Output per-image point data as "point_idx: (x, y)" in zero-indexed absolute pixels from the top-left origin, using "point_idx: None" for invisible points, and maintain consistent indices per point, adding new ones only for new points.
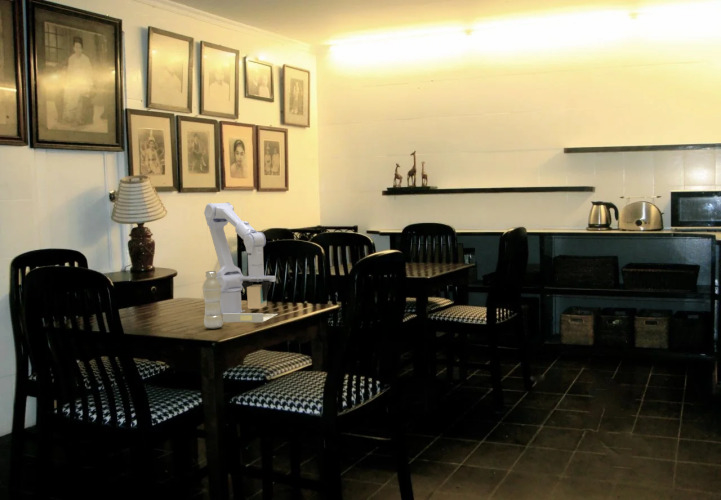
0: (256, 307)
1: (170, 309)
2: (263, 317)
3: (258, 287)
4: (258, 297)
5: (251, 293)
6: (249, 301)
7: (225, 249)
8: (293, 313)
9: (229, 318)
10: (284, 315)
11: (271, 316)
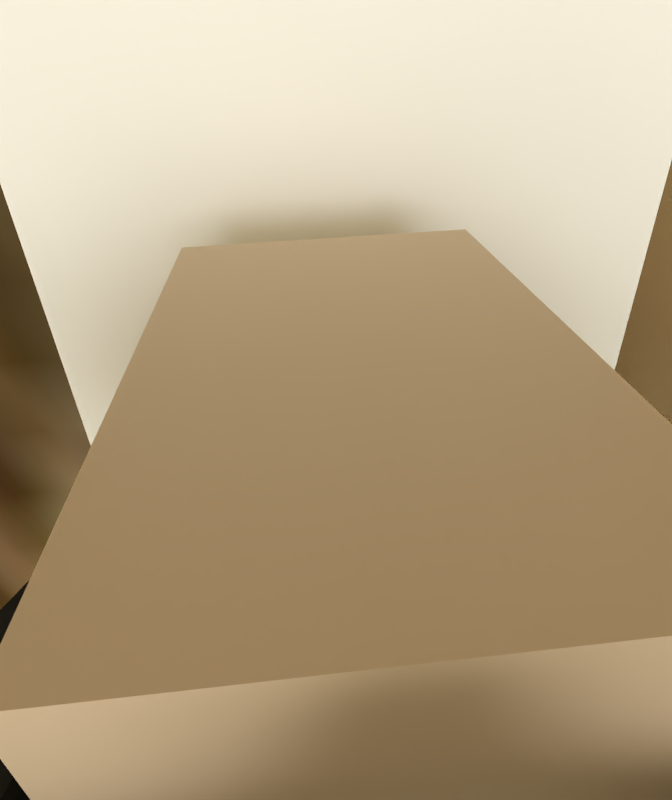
0: (275, 250)
1: None
2: (152, 196)
3: (61, 680)
4: (189, 359)
5: (464, 410)
6: (466, 282)
7: None
8: (14, 591)
9: None
10: (33, 484)
11: (70, 296)
